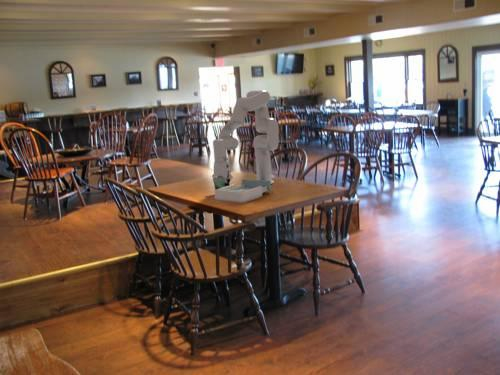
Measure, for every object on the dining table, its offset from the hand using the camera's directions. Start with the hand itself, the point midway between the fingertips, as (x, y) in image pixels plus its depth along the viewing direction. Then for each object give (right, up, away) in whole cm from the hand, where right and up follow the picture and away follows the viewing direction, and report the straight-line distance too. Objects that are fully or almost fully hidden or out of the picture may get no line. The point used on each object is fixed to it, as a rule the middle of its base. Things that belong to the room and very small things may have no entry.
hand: (223, 188), depth 312 cm
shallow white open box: (+11, -5, -16) cm, 20 cm away
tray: (+15, -2, -9) cm, 18 cm away
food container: (+1, -2, 0) cm, 3 cm away
